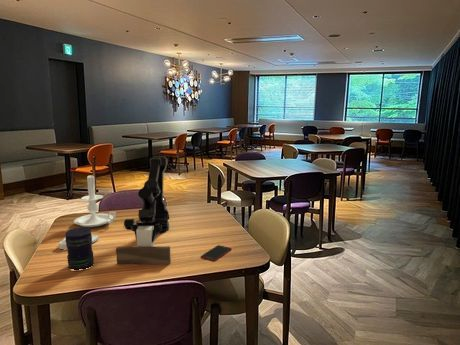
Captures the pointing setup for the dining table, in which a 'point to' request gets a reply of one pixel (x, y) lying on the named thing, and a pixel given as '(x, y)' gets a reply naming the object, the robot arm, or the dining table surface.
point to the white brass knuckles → (63, 243)
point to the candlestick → (93, 208)
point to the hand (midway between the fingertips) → (144, 242)
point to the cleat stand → (143, 255)
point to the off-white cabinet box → (144, 236)
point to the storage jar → (79, 248)
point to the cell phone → (216, 253)
